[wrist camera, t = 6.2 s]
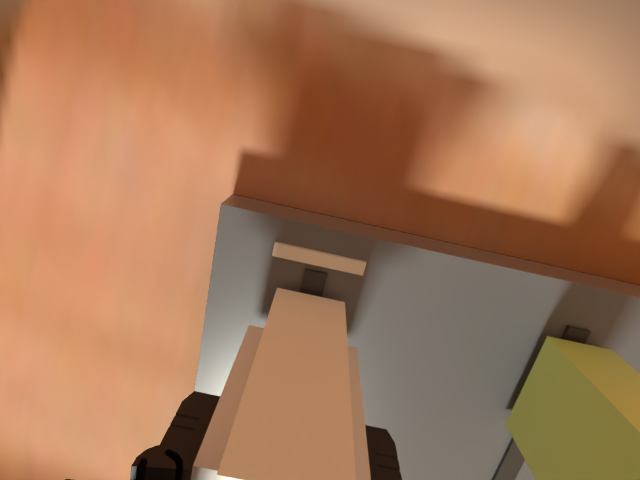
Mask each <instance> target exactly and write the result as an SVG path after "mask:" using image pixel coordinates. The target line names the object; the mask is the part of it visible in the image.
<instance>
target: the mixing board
mask: <svg viewBox="0 0 640 480" xmlns="http://www.w3.org/2000/svg"><path fill="white" fill-rule="evenodd" d="M277 288H281V289H286V290H291V291H295V292H300V293H305V294H309V295H314V296H319V297H323V298H328V299H332V300H337V301H342V302H345V311H346V327H347V343H348V346H351V347H355V348H357V351H358V361H359V370H360V380H361V389H362V399H363V409H364V418H365V425H368V426H373V427H378V428H383V429H387V430H388V432H389V434H390V435H391V437H392V439H393V440H394V442H395V445H396V451H397V456H398V461H399V466H400V472H401V477H402V480H536V479H535V477H534V475H533V473H532V472H531V470H530V468H529V466H528V464H527V463H526V461H525V459H524V457H523V455H522V454H521V452H520V450H519V448H518V446H517V445H516V443H515V441H514V439H513V437H512V435H511V434H510V432H509V430H508V428H507V426H506V425H505V424H506V422H507V420H508V417H509V415H510V413H511V411H512V409H513V407H514V405H515V403H516V401H517V399H518V396H519V394H520V392H521V390H522V388H523V386H524V384H525V382H526V380H527V378H528V375H529V373H530V371H531V369H532V367H533V365H534V363H535V361H536V359H537V356H538V354H539V352H540V350H541V348H542V346H543V344H544V342H545V340H546V338H547V336H550V337H554V338H559V339H564V340H568V341H573V342H577V343H582V344H587V345H591V346H596V347H601V348H605V349H610V350H613V351H614V352H615V353H616V354H617V355H619V356H620V357H621V358H622V359H623V360H624V361H626V362H627V363H628V364H629V365H630V366H631V367H633V368H634V369H635V370H636V371H637V372H639V373H640V285H636V284H632V283H627V282H623V281H618V280H614V279H609V278H605V277H600V276H596V275H591V274H587V273H582V272H578V271H573V270H569V269H564V268H560V267H555V266H551V265H547V264H542V263H538V262H533V261H529V260H524V259H520V258H515V257H511V256H506V255H502V254H497V253H493V252H488V251H484V250H479V249H475V248H471V247H466V246H462V245H457V244H453V243H448V242H444V241H439V240H435V239H430V238H426V237H421V236H417V235H412V234H408V233H403V232H399V231H395V230H390V229H386V228H381V227H377V226H372V225H368V224H363V223H359V222H354V221H350V220H345V219H341V218H336V217H332V216H327V215H323V214H318V213H314V212H310V211H305V210H301V209H296V208H292V207H287V206H283V205H278V204H274V203H269V202H265V201H260V200H256V199H251V198H247V197H242V196H238V195H234V194H233V195H232V196H230V197H229V198H228V199H227V200H225V201H224V202H223V203H222V204H221V207H220V214H219V222H218V229H217V236H216V243H215V250H214V257H213V264H212V271H211V278H210V285H209V292H208V299H207V306H206V313H205V320H204V327H203V334H202V341H201V348H200V355H199V362H198V369H197V376H196V384H195V391H197V392H202V393H206V394H211V395H216V396H221V394H222V391H223V389H224V386H225V384H226V381H227V379H228V376H229V373H230V371H231V368H232V366H233V363H234V361H235V358H236V356H237V353H238V351H239V348H240V346H241V343H242V341H243V338H244V336H245V333H246V331H247V328H248V326H249V325H252V326H256V327H261V328H264V327H265V324H266V321H267V318H268V314H269V311H270V308H271V305H272V302H273V299H274V296H275V293H276V290H277Z"/></svg>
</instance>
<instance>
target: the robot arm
mask: <svg viewBox="0 0 640 480" xmlns="http://www.w3.org/2000/svg"><path fill="white" fill-rule="evenodd" d="M263 330H264V328H261V327H256V326H252V325H249V326H248V328H247V331H246V333H245V336H244V338H243V341H242V343H241V346H240V348H239V351H238V353H237V356H236V358H235V361H234V363H233V366H232V368H231V371H230V373H229V376H228V379H227V381H226V384H225V386H224V389H223V391H222V394H221V396H216V395H211V394H206V393H202V392H197V391H194V392H193V393H192V394H190V395H189V396H188V397H187V398H186V399H184V400H183V401H182V403H181V405H180V407H179V409H178V411H177V413H176V416H175V417H174V419H173V421H172V422H171V425H170V427H169V428H168V430H167V432H166V434H165V436H164V438H163V440H162V442H161V444H160V445H158V446H154V447H152V448H149V449H147V450H145V451H144V452H143V453H141V454H140V455H139V456H138V457H137V458H136V460H135V461H134V463H133V464H132V466H131V476H130V480H216V477H217V473H218V470H219V467H220V464H221V461H222V457H223V454H224V451H225V448H226V445H227V442H228V439H229V436H230V433H231V429H232V426H233V423H234V420H235V417H236V414H237V411H238V408H239V405H240V401H241V398H242V395H243V392H244V389H245V386H246V383H247V380H248V377H249V373H250V370H251V367H252V364H253V361H254V358H255V355H256V352H257V349H258V345H259V342H260V339H261V336H262V333H263ZM348 359H349V375H350V391H351V407H352V423H353V440H354V456H355V472H356V480H402V477H401V472H400V466H399V461H398V456H397V451H396V445H395V442H394V440H393V439H392V437H391V435H390V434H389V432H388V430H387V429H383V428H378V427H373V426H368V425H365V418H364V409H363V399H362V389H361V380H360V370H359V361H358V351H357V348H355V347H351V346H348ZM66 480H71V479H66Z"/></svg>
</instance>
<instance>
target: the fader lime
mask: <svg viewBox="0 0 640 480" xmlns="http://www.w3.org/2000/svg"><path fill="white" fill-rule="evenodd" d="M505 425H506V426H507V428H508V430H509V432H510V434H511V435H512V437H513V439H514V441H515V443H516V445H517V446H518V448H519V450H520V452H521V454H522V455H523V457H524V459H525V461H526V463H527V464H528V466H529V468H530V470H531V472H532V473H533V475H534V477H535V479H536V480H640V373H639V372H637V371H636V370H635V369H634V368H633V367H631V366H630V365H629V364H628V363H627V362H626V361H624V360H623V359H622V358H621V357H620V356H619V355H617V354H616V353H615V352H614V351H613V350H610V349H605V348H601V347H596V346H591V345H587V344H582V343H577V342H573V341H568V340H564V339H559V338H554V337H550V336H547V338H546V340H545V342H544V344H543V346H542V348H541V350H540V352H539V354H538V356H537V359H536V361H535V363H534V365H533V367H532V369H531V371H530V373H529V375H528V378H527V380H526V382H525V384H524V386H523V388H522V390H521V392H520V394H519V396H518V399H517V401H516V403H515V405H514V407H513V409H512V411H511V413H510V415H509V417H508V420H507V422H506V424H505Z"/></svg>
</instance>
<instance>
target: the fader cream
mask: <svg viewBox="0 0 640 480" xmlns="http://www.w3.org/2000/svg"><path fill="white" fill-rule="evenodd" d="M216 480H356V472H355V456H354V440H353V423H352V407H351V391H350V375H349V359H348V343H347V327H346V311H345V302H342V301H337V300H332V299H328V298H323V297H319V296H314V295H309V294H305V293H300V292H295V291H291V290H286V289H281V288H277V290H276V293H275V296H274V299H273V302H272V305H271V308H270V311H269V314H268V318H267V321H266V324H265V327H264V330H263V333H262V336H261V339H260V342H259V345H258V349H257V352H256V355H255V358H254V361H253V364H252V367H251V370H250V373H249V377H248V380H247V383H246V386H245V389H244V392H243V395H242V398H241V401H240V405H239V408H238V411H237V414H236V417H235V420H234V423H233V426H232V429H231V433H230V436H229V439H228V442H227V445H226V448H225V451H224V454H223V457H222V461H221V464H220V467H219V470H218V473H217V477H216Z"/></svg>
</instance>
